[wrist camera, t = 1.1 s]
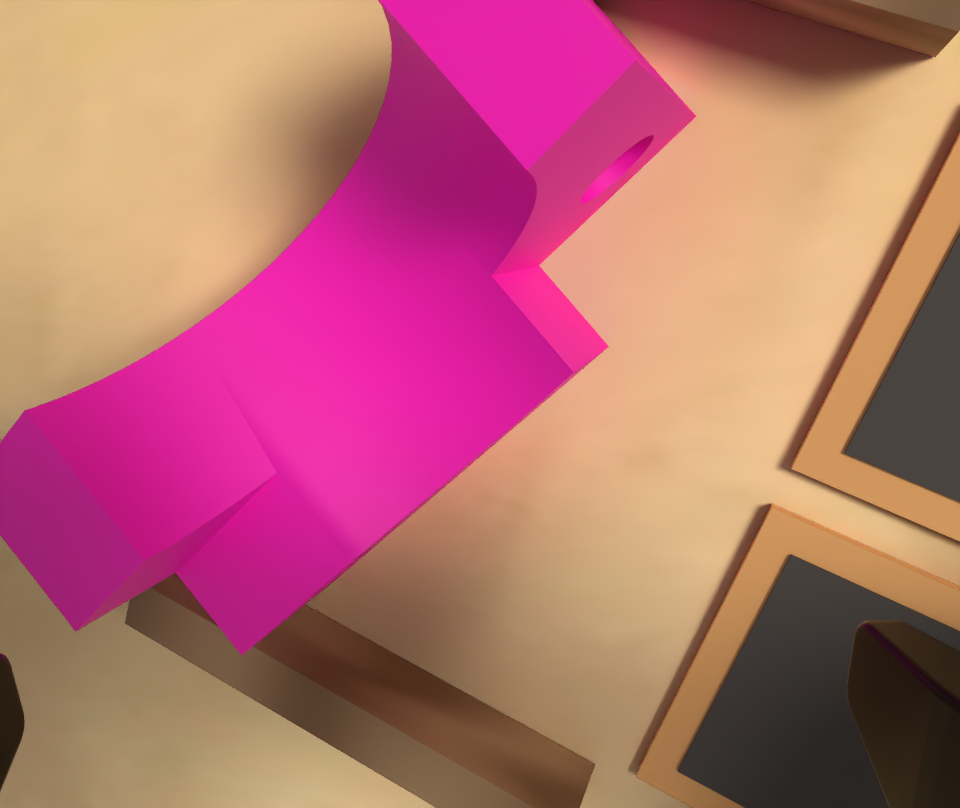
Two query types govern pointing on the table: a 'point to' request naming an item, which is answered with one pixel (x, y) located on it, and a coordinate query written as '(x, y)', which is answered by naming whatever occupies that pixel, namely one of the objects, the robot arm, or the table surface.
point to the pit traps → (834, 558)
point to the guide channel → (403, 686)
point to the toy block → (353, 333)
